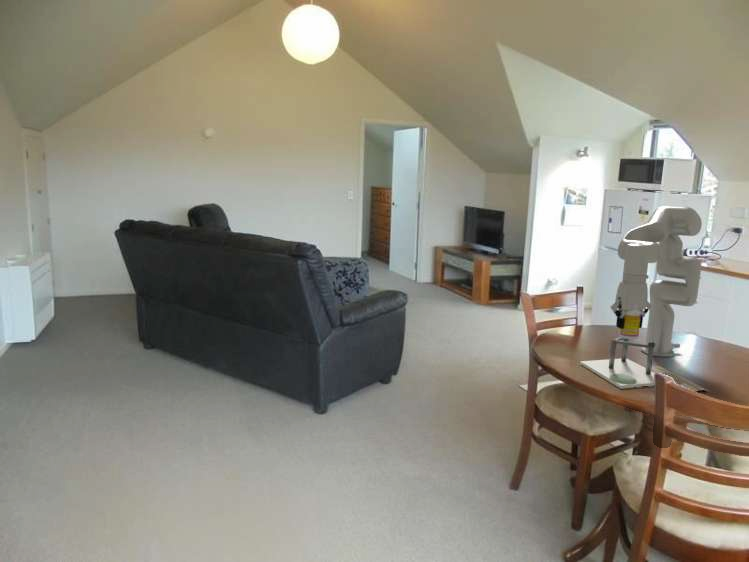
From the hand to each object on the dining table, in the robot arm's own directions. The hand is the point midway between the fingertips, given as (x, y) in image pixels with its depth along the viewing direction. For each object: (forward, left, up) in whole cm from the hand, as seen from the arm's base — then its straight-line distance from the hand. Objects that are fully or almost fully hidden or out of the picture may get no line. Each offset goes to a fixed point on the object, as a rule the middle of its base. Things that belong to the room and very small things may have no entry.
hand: (628, 327), depth 189 cm
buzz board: (-6, -7, -21) cm, 23 cm away
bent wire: (-8, -10, -20) cm, 24 cm away
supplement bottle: (0, 0, -4) cm, 4 cm away
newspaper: (-21, +2, -22) cm, 31 cm away
